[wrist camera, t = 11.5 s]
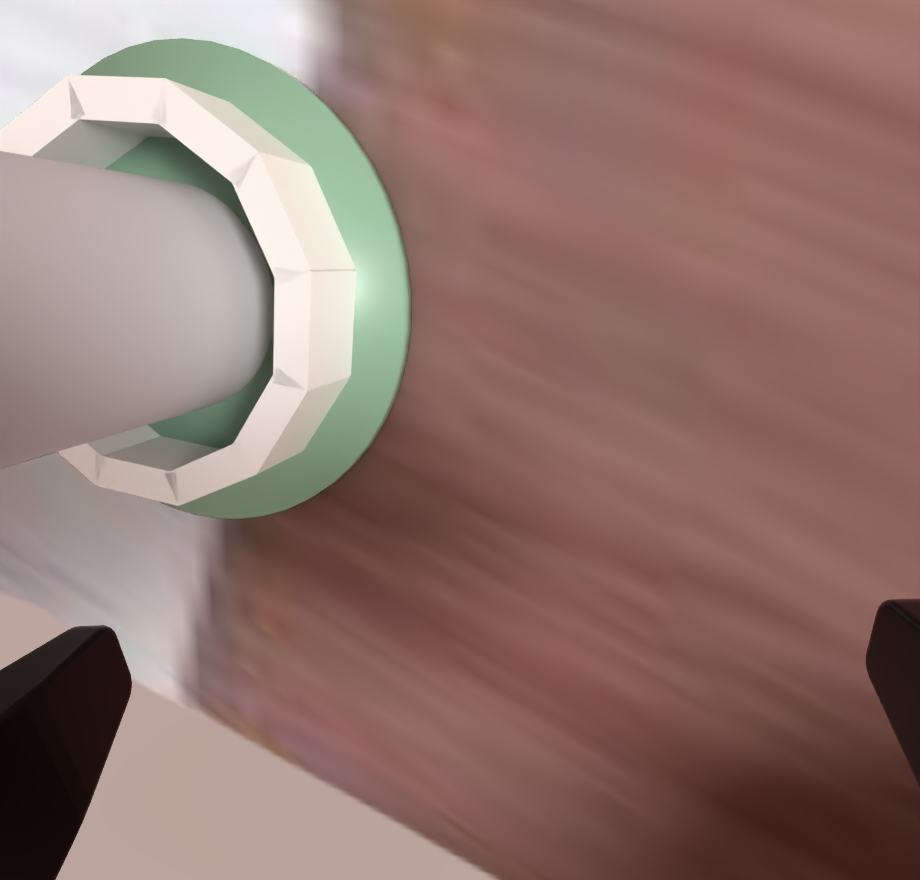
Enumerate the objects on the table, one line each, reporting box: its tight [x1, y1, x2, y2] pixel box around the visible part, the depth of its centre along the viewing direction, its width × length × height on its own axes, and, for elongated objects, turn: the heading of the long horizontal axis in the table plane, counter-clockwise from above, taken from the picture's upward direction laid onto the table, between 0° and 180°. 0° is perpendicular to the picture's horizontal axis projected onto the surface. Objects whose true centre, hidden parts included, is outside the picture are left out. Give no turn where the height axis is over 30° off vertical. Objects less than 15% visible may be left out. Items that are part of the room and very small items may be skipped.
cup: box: [0, 38, 412, 519], centre depth 19 cm, size 14×14×3 cm
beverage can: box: [0, 151, 274, 469], centre depth 14 cm, size 6×6×12 cm
